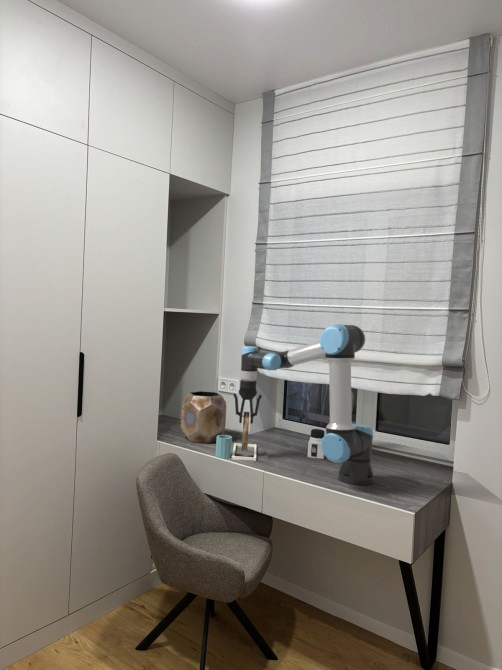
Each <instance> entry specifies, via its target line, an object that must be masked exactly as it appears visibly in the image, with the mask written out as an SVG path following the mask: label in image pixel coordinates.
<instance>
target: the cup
mask: <svg viewBox="0 0 502 670" xmlns="http://www.w3.org/2000/svg"><path fill="white" fill-rule="evenodd" d="M215 442H216V444H215V457H216V458H219V459H230V458H232V450H233V447H232V445H233V436H231V435H228V434H224V435H218V436H217V440H216V441H215Z"/></svg>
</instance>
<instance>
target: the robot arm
mask: <svg viewBox="0 0 502 670" xmlns="http://www.w3.org/2000/svg"><path fill="white" fill-rule="evenodd" d="M365 343H366V335H365V333H364V331H363V330H362V329H361V328H360V327H359V326H357V325H354V324H352V325H351V324H338V323H337V324H332V325H329V326H327V327H326V328H325V329H324V330H323V331H322V332H321V335H320V337H319V340H317V341H315V342H311V343H308V344H304V345H302V346H298V347H295V348H291V349H288V350H285V351H280V352H278V351H277V352H262V351H260V350H259V347H258V346H252V345H251V346H250V345H245V346H243V347H242V350H241V361H240V364H241V365H240V381H239V383H240V384H239V389H238V391H236V392H234V393H233V398H234V403H235V404H234V405H235V415H236V416H239V424H241V428H240V429H241V431H242V432H243V421H244V407H245V403H246V401H247V400H248V401H249V426H248V432H250V431H251V425H253V423H254V417H257V416H258V412H259V405H260V402H261V398H262V397H263V395H262V394H261V393H258V391H257V377H258V369H261V370H266V371H277V370H278V369H279V370H280V369H291V368H293V367H294V366H297V365H300V364H301V365H302V364H304V363H308V362H311V361H315V360H319V359H323V358H325V360H326V361H327V362H328V367H329V369H328V370H329V371H328V372H329V373H328V375H329V388H328V389H329V423H328V424H327V425H326V427H325V434H324V437H323V438H322V441H321V449H322V452H323V454H324V455H325V456H324V457H325V458H326V459H328V460H329V461H331V462H333V463H340V465H339V467H338V469H337V474H336V475H337V479H338V480H339V481H341V482H343V483H346V484H350V485H356V486H357V485H358V486H368V485H373V483H374V482H375V474H374V470H373V465H372V455H373V454H372V452H373V451H372V450H373V439H374V438H373V437H374V429H373V428H372V427H371V426H368V425H364V424H358V423H353V422H352V413H353V412H351V391H352V362H354V360H355V359H356V355H355V354H356V353H358V352H359V351H361V349H362V348H363V347H364V346H365ZM239 396H240V398H241V399H242V401H241V405H240V411H239ZM255 397H256V403H255V408H253V406H254V405H253V399H254V398H255ZM254 409H255V410H254Z"/></svg>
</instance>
